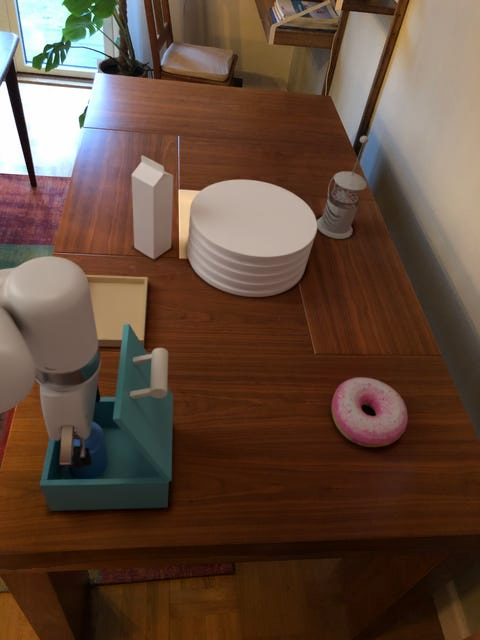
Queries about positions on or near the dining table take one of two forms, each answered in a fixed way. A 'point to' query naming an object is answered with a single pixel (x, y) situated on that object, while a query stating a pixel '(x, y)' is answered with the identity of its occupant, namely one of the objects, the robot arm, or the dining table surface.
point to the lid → (145, 401)
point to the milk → (152, 208)
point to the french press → (342, 203)
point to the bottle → (93, 455)
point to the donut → (363, 426)
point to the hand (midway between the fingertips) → (84, 430)
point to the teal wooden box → (105, 474)
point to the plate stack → (250, 237)
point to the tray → (118, 306)
